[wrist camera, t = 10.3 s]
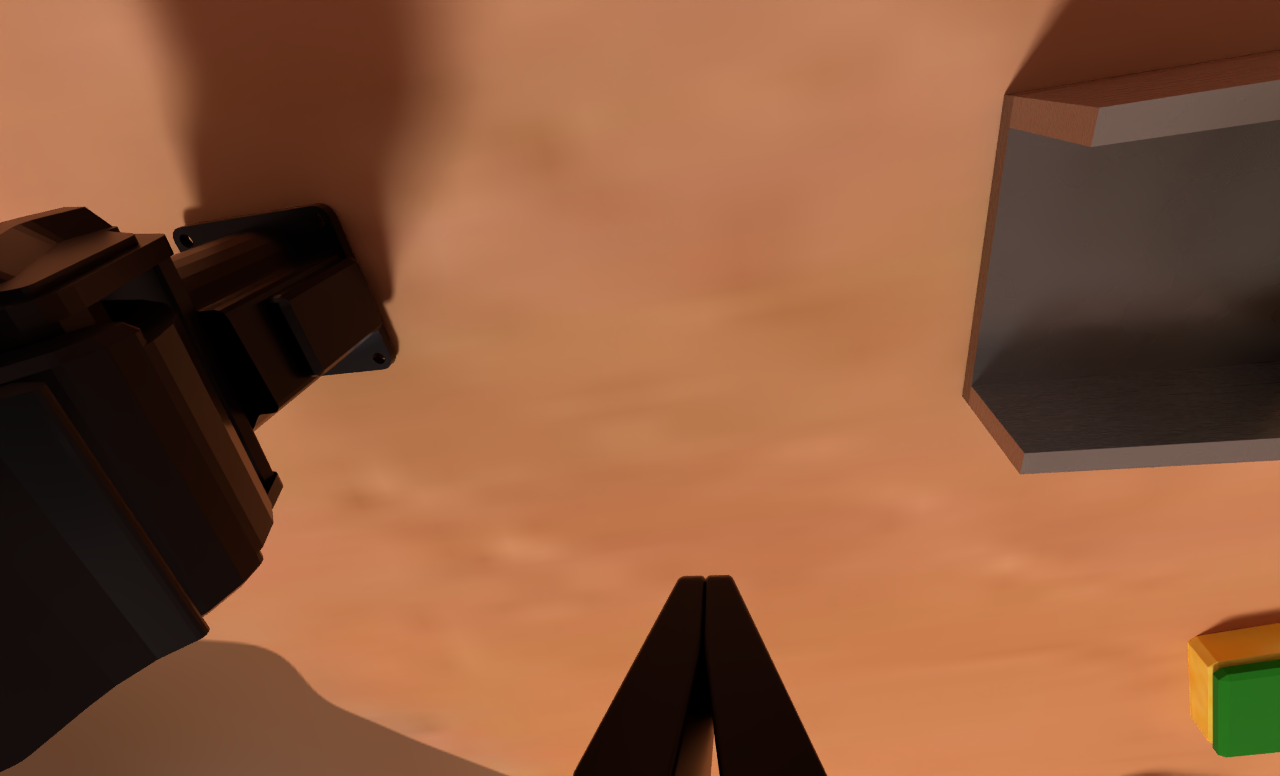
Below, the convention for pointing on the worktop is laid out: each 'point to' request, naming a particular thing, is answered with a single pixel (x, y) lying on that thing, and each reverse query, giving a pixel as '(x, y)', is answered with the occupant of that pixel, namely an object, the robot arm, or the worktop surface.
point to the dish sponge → (1237, 689)
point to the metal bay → (1134, 272)
